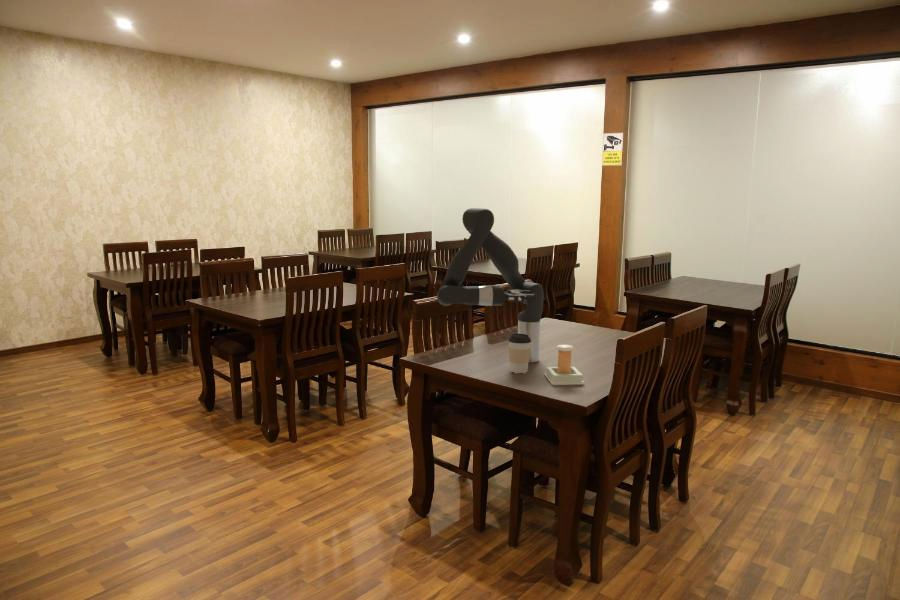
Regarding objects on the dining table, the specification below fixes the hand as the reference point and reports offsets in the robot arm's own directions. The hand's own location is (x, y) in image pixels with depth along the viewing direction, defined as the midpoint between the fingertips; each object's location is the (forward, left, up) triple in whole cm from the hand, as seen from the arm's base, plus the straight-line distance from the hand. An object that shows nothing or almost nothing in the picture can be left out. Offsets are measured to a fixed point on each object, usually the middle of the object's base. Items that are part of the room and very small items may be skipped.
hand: (533, 295), depth 225 cm
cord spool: (+4, +12, -31) cm, 33 cm away
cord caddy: (+4, +12, -32) cm, 34 cm away
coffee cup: (-8, -3, -32) cm, 33 cm away
